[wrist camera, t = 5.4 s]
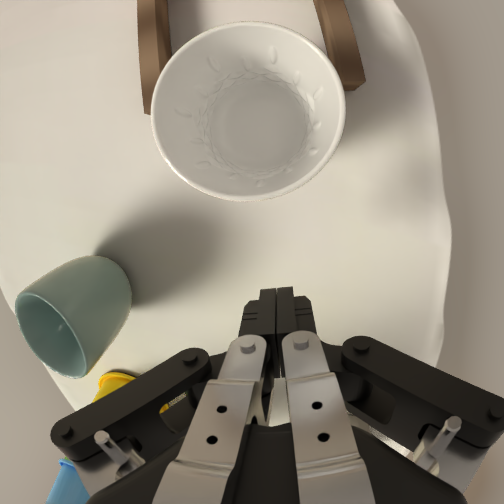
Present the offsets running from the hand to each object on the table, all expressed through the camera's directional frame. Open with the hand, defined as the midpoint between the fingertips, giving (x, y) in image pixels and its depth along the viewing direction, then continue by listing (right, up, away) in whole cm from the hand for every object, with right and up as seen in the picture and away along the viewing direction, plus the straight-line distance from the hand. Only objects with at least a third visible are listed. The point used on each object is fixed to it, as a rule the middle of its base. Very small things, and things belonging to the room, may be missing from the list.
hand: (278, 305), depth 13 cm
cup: (-15, 0, +12) cm, 19 cm away
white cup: (-1, +12, +6) cm, 13 cm away
